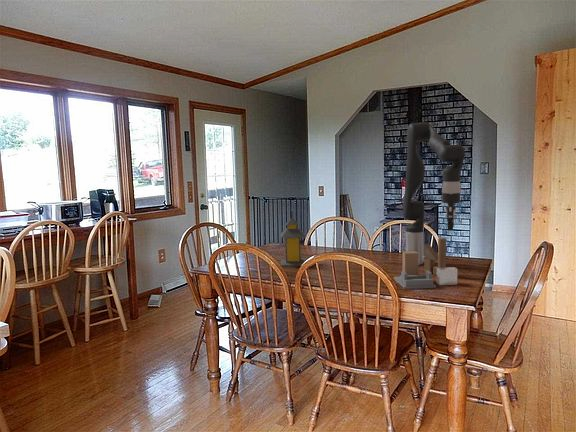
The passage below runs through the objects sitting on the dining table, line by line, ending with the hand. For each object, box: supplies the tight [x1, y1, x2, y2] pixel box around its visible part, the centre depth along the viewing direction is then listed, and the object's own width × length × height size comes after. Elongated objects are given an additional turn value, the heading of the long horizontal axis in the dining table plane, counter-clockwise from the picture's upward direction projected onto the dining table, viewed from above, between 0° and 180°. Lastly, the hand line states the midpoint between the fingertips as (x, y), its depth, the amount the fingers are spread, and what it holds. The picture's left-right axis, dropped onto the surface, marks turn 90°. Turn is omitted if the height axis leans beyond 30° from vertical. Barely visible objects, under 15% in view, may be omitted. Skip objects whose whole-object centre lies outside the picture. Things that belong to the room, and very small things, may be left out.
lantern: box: [279, 209, 307, 267], centre depth 245 cm, size 14×14×30 cm
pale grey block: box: [436, 266, 458, 286], centre depth 198 cm, size 4×8×7 cm, turn 91°
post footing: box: [393, 250, 437, 290], centre depth 200 cm, size 17×14×13 cm
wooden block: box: [423, 237, 447, 276], centre depth 214 cm, size 4×11×18 cm, turn 37°
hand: (450, 228), depth 194 cm, fingers open, 8 cm apart
